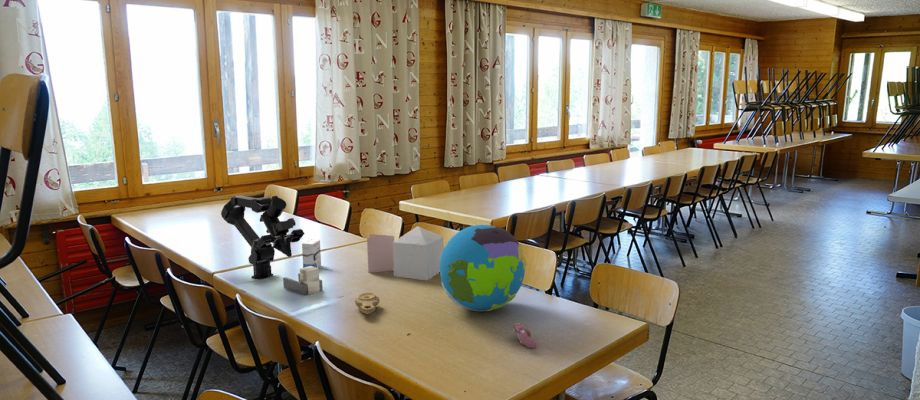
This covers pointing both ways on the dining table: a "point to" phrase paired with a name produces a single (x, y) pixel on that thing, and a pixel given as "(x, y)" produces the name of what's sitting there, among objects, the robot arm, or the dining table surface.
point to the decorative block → (417, 254)
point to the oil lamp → (367, 302)
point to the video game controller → (524, 335)
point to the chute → (297, 285)
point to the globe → (482, 267)
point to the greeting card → (380, 253)
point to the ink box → (311, 253)
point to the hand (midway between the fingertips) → (290, 256)
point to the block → (310, 279)
